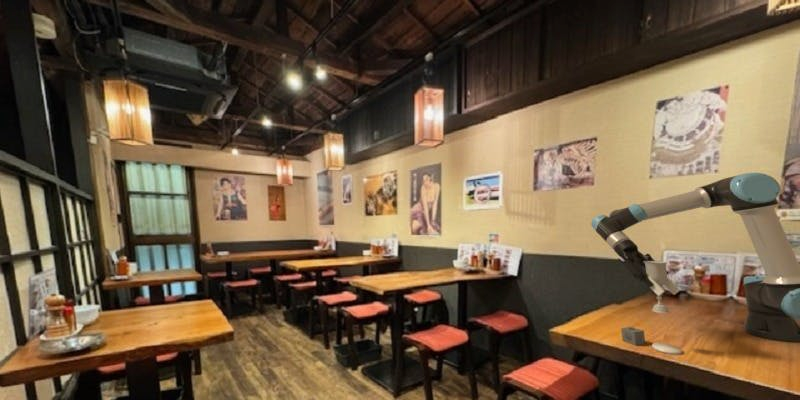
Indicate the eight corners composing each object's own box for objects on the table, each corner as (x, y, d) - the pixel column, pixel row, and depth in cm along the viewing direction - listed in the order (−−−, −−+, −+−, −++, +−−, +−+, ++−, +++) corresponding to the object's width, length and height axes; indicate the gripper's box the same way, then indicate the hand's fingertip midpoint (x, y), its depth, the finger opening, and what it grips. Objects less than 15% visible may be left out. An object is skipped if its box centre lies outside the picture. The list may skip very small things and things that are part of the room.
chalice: (666, 315, 104) (660, 263, 106) (644, 310, 110) (639, 261, 112) (677, 312, 107) (671, 262, 109) (655, 307, 113) (650, 260, 115)
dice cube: (631, 339, 118) (630, 326, 118) (645, 344, 113) (643, 330, 114) (622, 341, 116) (621, 328, 117) (635, 346, 112) (634, 332, 112)
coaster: (676, 347, 109) (675, 344, 109) (686, 356, 102) (686, 353, 102) (649, 344, 112) (648, 341, 112) (657, 352, 105) (656, 350, 105)
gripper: (635, 250, 127) (682, 296, 110) (597, 252, 124) (640, 300, 106) (646, 237, 123) (697, 285, 105) (607, 239, 119) (654, 288, 101)
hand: (669, 292), depth 106 cm, fingers closed on chalice, 6 cm apart
